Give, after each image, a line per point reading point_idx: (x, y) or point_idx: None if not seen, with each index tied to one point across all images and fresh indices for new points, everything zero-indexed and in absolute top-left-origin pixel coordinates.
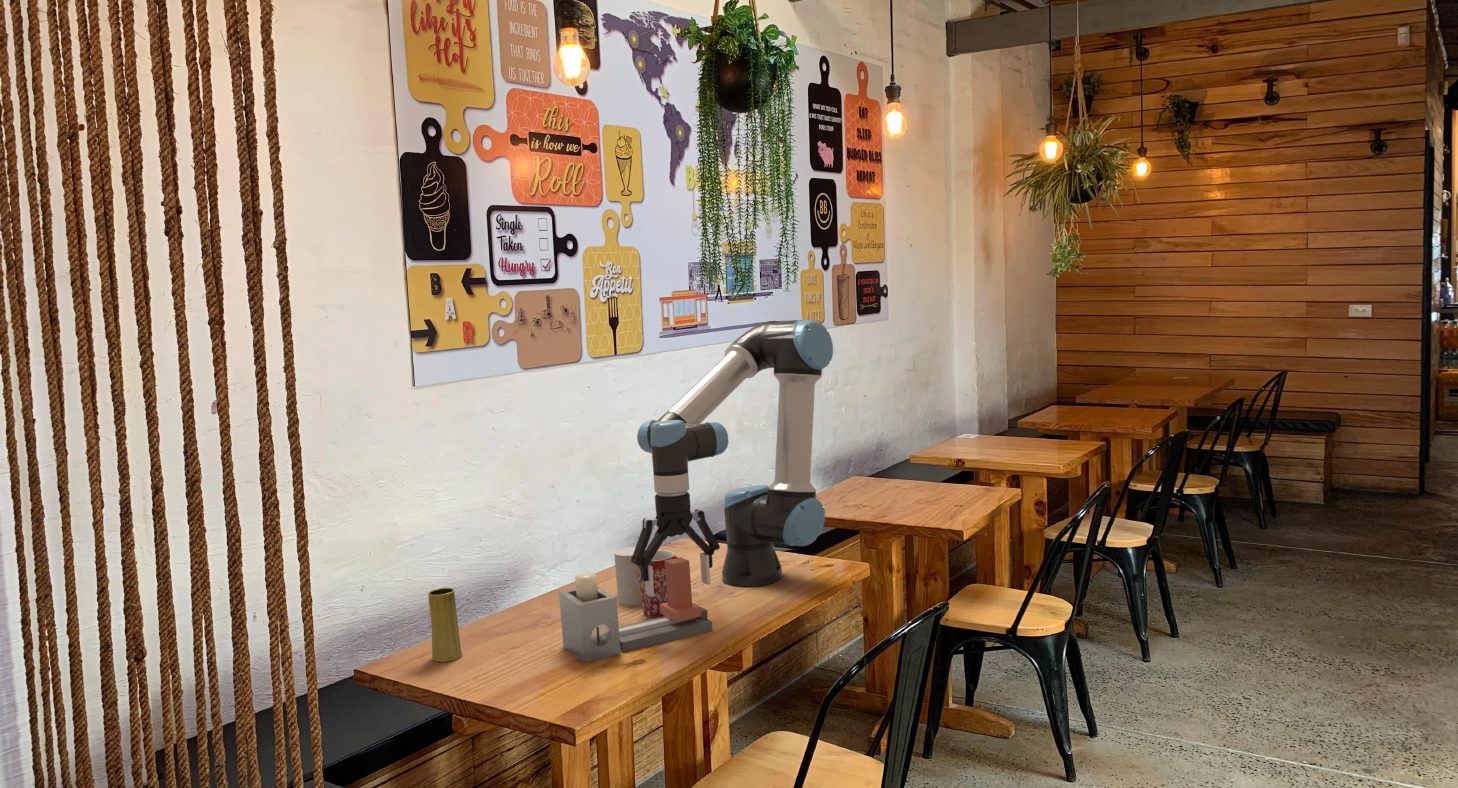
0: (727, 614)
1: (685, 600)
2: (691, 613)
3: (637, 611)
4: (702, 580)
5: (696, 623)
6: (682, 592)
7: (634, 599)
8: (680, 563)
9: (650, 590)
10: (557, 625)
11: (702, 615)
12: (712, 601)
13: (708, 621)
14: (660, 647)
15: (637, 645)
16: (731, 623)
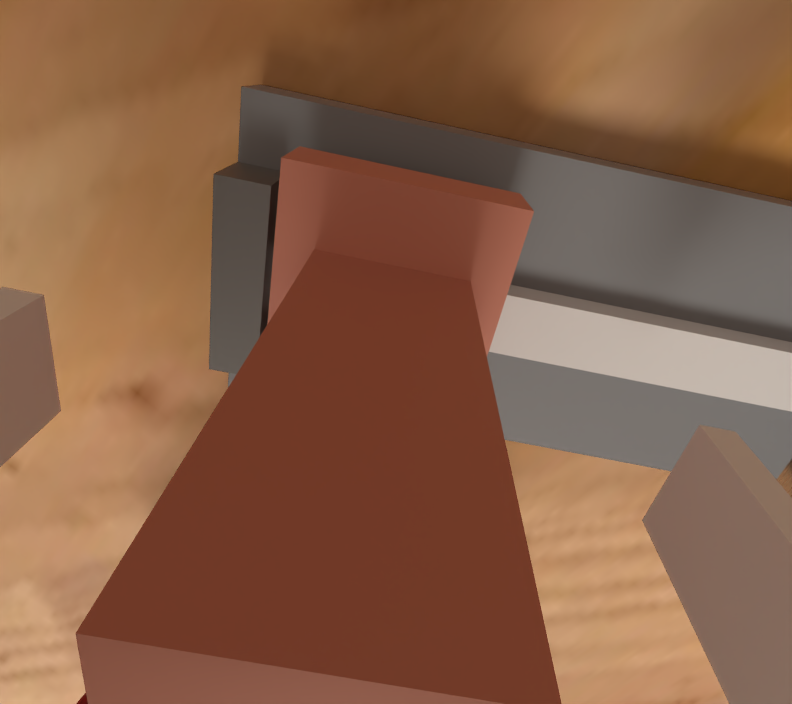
0: (37, 263)
1: (369, 284)
2: (383, 170)
3: None
4: (44, 407)
5: (354, 147)
6: (390, 325)
7: None
8: (345, 653)
9: (773, 480)
10: (678, 682)
11: (269, 176)
12: (26, 473)
13: (264, 107)
14: (722, 91)
15: None
16: (87, 96)
